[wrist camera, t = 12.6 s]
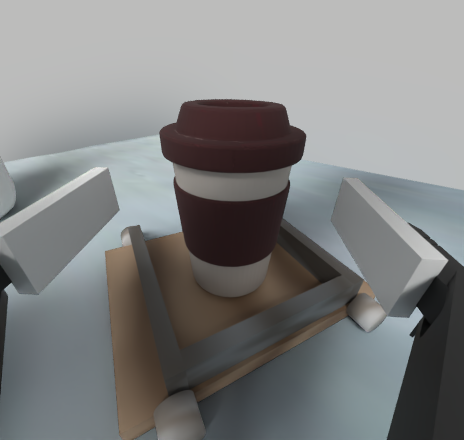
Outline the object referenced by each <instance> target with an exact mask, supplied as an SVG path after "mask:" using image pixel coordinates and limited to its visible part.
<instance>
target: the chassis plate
mask: <svg viewBox="0 0 464 440" xmlns="http://www.w3.org/2000/svg"><path fill="white" fill-rule="evenodd" d="M121 240H122V245H123V247H120V248H116V249H112V250H108V251H105V257H106V270H107V283H108V296H109V309H110V321H111V334H112V347H113V360H114V373H115V385H116V398H117V411H118V424H119V435H120V436H121V438H122V439H123V440H133V439H135V438H137V437H139V436H140V435H142V434H144V433H146V432H147V431H149V430H151V429H153V428H154V427H156V431H157V437H158V440H202V439H203V438H204V436H205V435H206V429H205V426H204V423H203V420H202V417H201V414H200V411H199V408H198V405H197V403H198V402H199V401H201V400H203V399H205V398H206V397H208V396H210V395H212V394H213V393H215V392H217V391H219V390H220V389H222V388H224V387H225V386H227V385H229V384H231V383H232V382H234V381H236V380H238V379H239V378H241V377H243V376H245V375H246V374H248V373H250V372H252V371H253V370H255V369H257V368H258V367H260V366H262V365H264V364H265V363H267V362H269V361H271V360H272V359H274V358H276V357H278V356H279V355H281V354H283V353H285V352H286V351H288V350H290V349H291V348H293V347H295V346H297V345H298V344H300V343H302V342H304V341H305V340H307V339H309V338H311V337H312V336H314V335H316V334H318V333H319V332H321V331H323V330H324V329H326V328H328V327H330V326H331V325H333V324H335V323H337V322H338V321H340V320H342V319H344V318H345V317H347V316H350V317H351V318H352V319H353V320H354V321H355V322H357V323H358V324H359V325H360V326H361V327H362V328H363V329H364V330H365V331H366V332H367V333H369V332H371V331H373V330H374V329H376V328H377V327H378V326H379V325H380V324H381V323H382V322H383V321H384V319H385V318H386V317H387V315H386V313H385V312H384V310H383V308H382V307H381V305H380V304H379V303H377V302H376V301H375V300H374V298H375V295H374V293H373V291H372V290H371V288H370V286H369V284H368V283H367V282H365V281H364V279H362V278H361V277H360V276H358V275H357V274H356V273H354V272H353V271H352V270H350V269H349V268H348V267H346V266H345V265H344V264H342V263H341V262H340V261H338V260H337V259H336V258H335V257H333V256H332V255H331V254H329V253H328V252H327V251H325V250H324V249H323V248H321V247H320V246H319V245H317V244H316V243H315V242H313V241H312V240H311V239H309V238H308V237H307V236H305V235H304V234H303V233H301V232H300V231H299V230H297V229H296V228H295V227H293V226H292V225H291V224H290V223H288V222H287V221H286V220H284V219H283V218H282V222H281V226H280V230H279V234H278V238H277V242H276V245H275V248H274V249H273V251H272V253H271V257H270V261H269V265H268V270H267V274H266V277H265V279H264V281H263V283H262V284H261V285H260V286H259V287H258V288H257V289H256V290H255V291H253V292H251V293H249V294H246V295H243V296H239V297H222V296H217V295H214V294H212V293H209V292H207V291H206V290H204V289H203V288H202V287H201V286H200V285H199V284H198V283H197V281H196V279H195V277H194V275H193V270H192V265H191V259H190V254H189V250H188V248H187V246H186V244H185V241H184V235H183V232H179V233H175V234H171V235H167V236H163V237H160V238H156V239H152V240H148V241H145V240H144V237H143V233H142V231H141V228H140V225H137V226H130V227H127V228H125V229H124V230H123V231H122V233H121Z"/></svg>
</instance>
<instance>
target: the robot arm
mask: <svg viewBox="0 0 464 440" xmlns="http://www.w3.org/2000/svg"><path fill="white" fill-rule="evenodd" d="M118 211H119V206H118V202H117V198H116V195H115V191H114V187H113V184H112V180H111V176H110V172H109V169H108V168H102V167H94V168H93V169H91V170H89V171H88V172H86V173H84V174H83V175H81V176H79V177H77V178H76V179H74V180H72V181H71V182H69V183H67V184H66V185H64V186H62V187H60V188H59V189H57V190H55V191H54V192H52V193H50V194H49V195H47V196H45V197H43V198H42V199H40V200H38V201H37V202H35V203H33V204H32V205H30V206H28V207H26V208H25V209H23V210H21V211H20V212H18V213H16V214H15V215H13V216H11V217H9V218H8V219H6V220H4V221H3V222H1V223H0V393H1V380H2V367H3V354H4V341H5V328H6V316H7V303H8V296H7V293H6V292H5V291H4V288H6V287H7V286H8V285H9V284H10V283H12V284H13V285H14V287H15V288H16V290H17V291H18V293H19V294H34V295H39V294H40V293H41V292H42V290H43V289H44V288H45V287H46V286H47V285H48V284H49V283H50V282H51V281H52V280H53V279H54V278H55V277H56V276H57V275H58V274H59V273H60V272H61V271H62V270H63V269H64V268H65V267H66V266H67V264H68V263H69V262H70V261H71V260H72V259H73V258H74V257H75V256H76V255H77V254H78V253H79V252H80V251H81V250H82V249H83V248H84V247H85V246H86V245H87V244H88V243H89V242H90V241H91V239H92V238H93V237H94V236H95V235H96V234H97V233H98V232H99V231H100V230H101V229H102V228H103V227H104V226H105V225H106V224H107V223H108V222H109V221H110V220H111V219H112V218H113V217H114V216H115V215H116V213H117V212H118ZM331 222H332V223H333V225H334V227H335V229H336V230H337V232H338V234H339V235H340V237H341V239H342V240H343V242H344V244H345V245H346V247H347V249H348V251H349V252H350V254H351V256H352V257H353V259H354V261H355V262H356V264H357V266H358V268H359V269H360V271H361V273H362V274H363V276H364V278H365V279H366V281H367V283H368V284H369V286H370V288H371V290H372V291H373V293H374V295H375V296H376V298H377V300H378V301H379V303H380V305H381V307H382V308H383V310H384V312H385V313H386V315H387V316H390V317H406V318H409V317H410V315H411V314H412V312H413V311H414V309H415V308H416V307H418V309H419V310H420V311H421V313H422V314H423V315H424V316H423V317H422V319H421V320H420V321H419V323H418V324H417V325H416V327H415V328H414V330H413V331H412V332H411V334H410V336H411V337H414V336H415V338H414V342H413V345H412V349H411V353H410V356H409V360H408V364H407V367H406V371H405V375H404V378H403V382H402V386H401V389H400V393H399V397H398V400H397V404H396V408H395V412H394V415H393V419H392V423H391V426H390V430H389V434H388V437H387V440H464V267H463V266H462V265H461V264H460V263H459V262H458V261H456V260H455V259H454V258H453V257H452V256H451V255H450V254H448V253H447V252H446V251H445V250H444V249H443V248H442V247H440V246H438V245H437V243H436V242H435V241H434V240H432V239H430V237H429V236H428V235H427V234H425V233H424V232H423V231H422V230H421V229H419V228H417V227H415V226H413V225H412V224H410V223H407V222H405V221H404V220H403V219H402V218H401V217H400V216H399V215H398V214H397V213H395V212H394V211H393V210H392V209H391V208H390V207H389V206H388V205H387V204H386V203H384V202H383V201H382V200H381V199H380V198H379V197H378V196H377V195H376V194H374V193H373V192H372V191H371V190H370V189H369V188H368V187H367V186H366V185H365V184H363V183H362V182H361V181H360V180H359V179H358V178H343V180H342V184H341V187H340V191H339V194H338V197H337V201H336V204H335V207H334V211H333V214H332V218H331Z"/></svg>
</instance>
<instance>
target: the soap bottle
mask: <svg viewBox="0 0 464 440" xmlns="http://www.w3.org/2000/svg"><path fill="white" fill-rule="evenodd" d="M15 201H16V190H15V185H14V182H13V180H12V178H11V177H10V175H9V173H8V171H7V169H6V167H5V165H4V163H3V161H2V159H1V157H0V219H1V218H2V217H3V216H4V215H6V214H7V213H8V212H9V211H10V210H11V209H12V208H13V206H14V204H15Z"/></svg>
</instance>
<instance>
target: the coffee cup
mask: <svg viewBox="0 0 464 440" xmlns="http://www.w3.org/2000/svg"><path fill="white" fill-rule="evenodd" d="M159 134H160V141H161V148H162V153H163V156H164V157H165V158H166V159H167V160H169V161H171V162H173V167H174V172H175V177H174V189H175V194H176V199H177V205H178V210H179V215H180V220H181V225H182V230H183V235H184V241H185V244H186V246H187V248H188V250H189V254H190V259H191V265H192V270H193V275H194V277H195V279H196V281H197V283H198V284H199V285H200V286H201V287H202V288H203V289H204V290H206V291H207V292H209V293H212V294H214V295H217V296H222V297H239V296H243V295H246V294H249V293H251V292H253V291H255V290H256V289H257V288H258V287H259V286H260V285H261V284H262V283H263V281H264V279H265V277H266V274H267V270H268V265H269V261H270V257H271V253H272V251H273V249H274V248H275V245H276V242H277V238H278V234H279V230H280V226H281V222H282V218H283V214H284V209H285V205H286V201H287V197H288V193H289V188H290V181H289V175H290V171H291V166H292V165H294V164H296V163H297V162H299V161H300V160H301V158H302V156H303V152H304V147H305V141H306V134H305V133H304V131H302V130H300V129H299V128H296V127H293V126H290V124H289V120H288V115H287V111H286V108H285V107H284V106H283V105H282V104H278V103H273V102H265V101H252V100H232V99H224V100H223V99H221V100H220V99H219V100H218V99H215V100H214V99H213V100H195V101H188V102H185V103H183V104H182V106H181V109H180V112H179V116H178V119H177V123H173V124H169V125H167V126H165V127H163V128H162V129H161V130H160V133H159Z"/></svg>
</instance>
